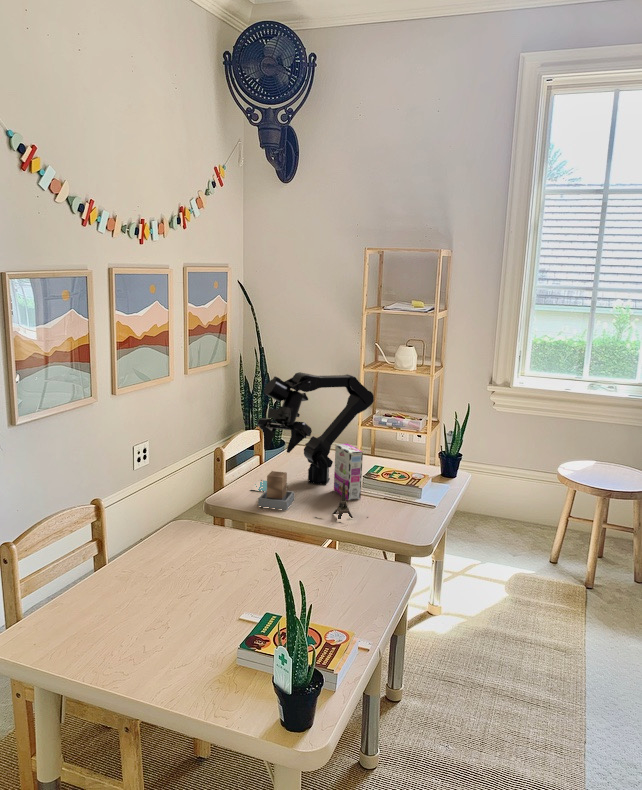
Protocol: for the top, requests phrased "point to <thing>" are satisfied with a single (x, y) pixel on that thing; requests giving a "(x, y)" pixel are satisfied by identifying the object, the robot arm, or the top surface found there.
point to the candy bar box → (348, 471)
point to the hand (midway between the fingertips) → (276, 450)
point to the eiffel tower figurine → (342, 504)
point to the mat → (263, 486)
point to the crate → (276, 501)
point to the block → (277, 485)
